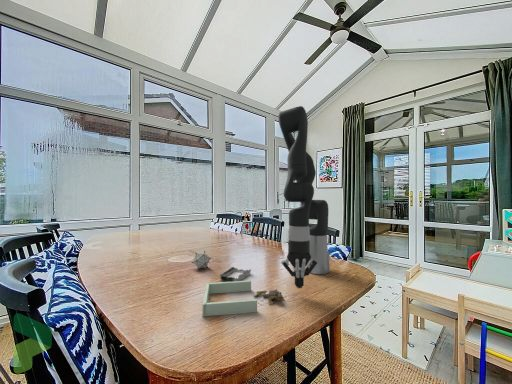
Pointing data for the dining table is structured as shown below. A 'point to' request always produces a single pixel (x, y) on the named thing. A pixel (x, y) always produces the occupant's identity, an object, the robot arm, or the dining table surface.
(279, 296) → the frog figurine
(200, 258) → the grey spiky ball
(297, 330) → the dining table surface
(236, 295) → the dining table surface
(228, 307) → the frame
